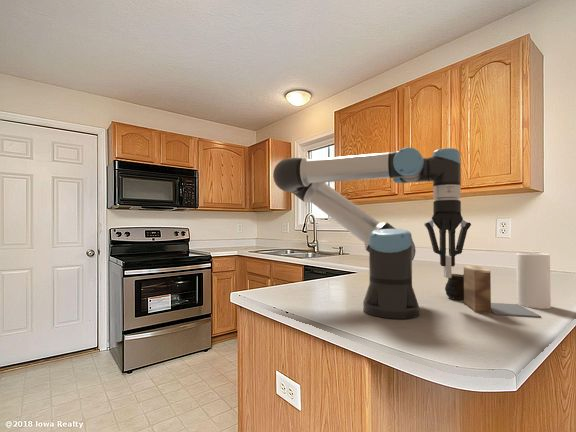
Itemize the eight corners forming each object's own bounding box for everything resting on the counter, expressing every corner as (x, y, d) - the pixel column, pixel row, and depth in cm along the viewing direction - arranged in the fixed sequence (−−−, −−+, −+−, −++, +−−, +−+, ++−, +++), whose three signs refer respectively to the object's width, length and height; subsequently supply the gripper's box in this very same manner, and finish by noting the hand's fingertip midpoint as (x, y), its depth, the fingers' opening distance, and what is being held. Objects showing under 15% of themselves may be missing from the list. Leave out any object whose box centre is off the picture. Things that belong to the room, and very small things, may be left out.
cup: (543, 303, 101) (542, 253, 101) (556, 309, 93) (555, 255, 93) (513, 301, 103) (512, 252, 104) (522, 307, 96) (521, 254, 96)
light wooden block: (475, 312, 90) (474, 270, 90) (464, 303, 100) (463, 265, 100) (490, 313, 89) (490, 270, 89) (478, 304, 99) (477, 266, 99)
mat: (495, 314, 88) (495, 313, 88) (478, 303, 100) (478, 302, 100) (540, 317, 85) (540, 316, 85) (517, 305, 98) (517, 304, 98)
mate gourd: (440, 296, 110) (440, 267, 110) (460, 296, 111) (460, 267, 111) (453, 301, 103) (453, 270, 103) (475, 301, 104) (475, 270, 104)
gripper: (426, 199, 95) (427, 278, 94) (474, 198, 92) (475, 280, 91) (421, 201, 102) (422, 274, 102) (466, 200, 99) (467, 276, 99)
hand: (447, 277), depth 96 cm, fingers closed
